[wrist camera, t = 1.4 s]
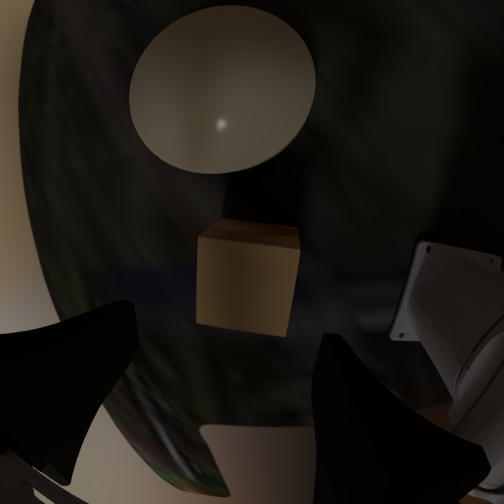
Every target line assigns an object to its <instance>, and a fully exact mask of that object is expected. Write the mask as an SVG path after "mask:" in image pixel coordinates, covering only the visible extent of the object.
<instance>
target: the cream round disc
mask: <svg viewBox="0 0 504 504" xmlns="http://www.w3.org/2000/svg"><path fill="white" fill-rule="evenodd" d="M314 92H315V69H314V64H313V60H312V57H311V55H310V52H309V50H308V48H307V46H306V44H305V43H304V41H303V40H302V39H301V37H300V36H299V35H298V33H297V32H296V31H295V30H294V29H293V28H292V27H291V26H289V25H288V24H287V23H285V22H284V21H283V20H281V19H280V18H278V17H276V16H274V15H272V14H270V13H268V12H265V11H262V10H260V9H256V8H252V7H246V6H237V5H225V6H216V7H211V8H206V9H202V10H199V11H196V12H193V13H191V14H188V15H186V16H184V17H182V18H180V19H179V20H177V21H175V22H174V23H172V24H171V25H169V26H168V27H167V28H165V29H164V30H163V31H162V32H161V33H160V34H158V35H157V36H156V37H155V38H154V39H153V41H152V42H151V43H150V44H149V45H148V47H147V48H146V49H145V51H144V53H143V54H142V56H141V57H140V59H139V61H138V63H137V65H136V68H135V71H134V73H133V76H132V81H131V85H130V95H129V101H130V111H131V116H132V120H133V123H134V126H135V128H136V130H137V132H138V134H139V136H140V137H141V139H142V140H143V142H144V143H145V145H146V146H147V147H148V148H149V149H150V150H151V151H152V152H153V153H154V154H156V155H157V156H158V157H159V158H161V159H162V160H164V161H166V162H167V163H169V164H171V165H173V166H175V167H178V168H180V169H184V170H187V171H191V172H197V173H205V174H206V173H212V174H218V173H227V172H235V171H242V170H246V169H250V168H253V167H255V166H258V165H261V164H263V163H265V162H267V161H269V160H270V159H272V158H274V157H275V156H276V155H278V154H279V153H281V152H282V151H283V150H284V149H285V148H286V147H288V146H289V145H290V143H291V142H292V141H293V140H294V139H295V138H296V136H297V135H298V133H299V132H300V130H301V129H302V127H303V125H304V123H305V121H306V119H307V116H308V114H309V111H310V108H311V105H312V102H313V98H314Z"/></svg>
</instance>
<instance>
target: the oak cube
mask: <svg viewBox="0 0 504 504" xmlns="http://www.w3.org/2000/svg"><path fill="white" fill-rule="evenodd" d="M300 250H301V249H300V242H299V235H298V228H297V227H291V226H283V225H275V224H267V223H259V222H251V221H242V220H233V219H224V218H221V219H220V220H218V221H217V222H216V223H215V224H213V225H212V226H211V227H210V228H208V229H207V230H206V231H205V232H203V233H202V234H201V235H200V236H198V254H197V323H200V324H205V325H211V326H216V327H222V328H228V329H234V330H240V331H247V332H254V333H261V334H268V335H275V336H283V337H286V331H287V326H288V321H289V316H290V310H291V305H292V299H293V293H294V287H295V281H296V275H297V269H298V263H299V257H300Z"/></svg>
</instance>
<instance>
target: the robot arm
mask: <svg viewBox="0 0 504 504" xmlns="http://www.w3.org/2000/svg"><path fill="white" fill-rule="evenodd" d="M428 246H430V249H429V251H427V252H426V248H427V247H428ZM490 259H491V261H490ZM501 263H502V259H501V257H500V256H498V255H493V254H489V253H484V252H479V251H475V250H470V249H465V248H460V247H455V246H450V245H445V244H440V243H435V242H429V241H424V240H421V241H419V242H418V243H417V245H416V248H415V252H414V256H413V260H412V264H411V267H410V271H409V275H408V278H407V282H406V285H405V289H404V292H403V295H402V298H401V301H400V304H399V307H398V310H397V313H396V316H395V319H394V322H393V325H392V327H391V330H390V333H389V336H390V338H391V339H392V340H402V341H421V343H422V345H423V346H424V348H425V350H426V351H427V353H428V355H429V356H430V358H431V360H432V361H433V363H434V365H435V366H436V368H437V370H438V372H439V373H440V375H441V377H442V379H443V381H444V382H445V384H446V386H447V388H448V390H449V392H450V394H451V395H452V397H453V399H454V404H453V406H452V408H451V409H450V411H449V415H450V417H451V419H452V421H453V424H454V427H453V428H452V430H451V431H450V433H449V432H447V431H445V430H443V429H442V428H440V427H438V426H436V425H434V424H433V423H431V422H429V421H428V420H426V419H425V418H424V417H422V416H421V415H419V414H418V413H416V412H415V411H413V410H412V409H411V408H409V407H408V406H407V405H405V404H404V403H403V402H402V401H401V400H400V399H398V398H397V397H396V396H395V395H394V394H393V393H391V392H390V391H389V390H388V389H387V388H386V387H385V386H384V385H383V384H382V383H381V382H380V381H379V380H378V379H377V378H376V377H375V376H374V374H373V373H372V372H371V371H370V370H369V369H368V368H367V367H366V365H365V364H364V363H363V362H362V361H361V360H360V358H359V357H358V356H357V355H356V353H355V352H354V351H353V350H352V349H351V347H350V346H349V345H348V343H347V342H346V341H345V340H344V339H343V337H342V336H341V335H340V334H330V333H323V337H322V341H321V345H320V348H319V352H318V355H317V359H316V362H315V366H314V369H313V372H312V390H311V399H312V409H313V419H314V428H315V439H316V457H317V458H316V476H315V488H314V499H313V504H459V500H460V499H461V498H463V497H464V496H465V495H467V494H469V495H471V496H474V497H477V498H482V499H486V500H488V501H490V502H488V503H487V504H492V503H494V504H504V272H502V271H501V270H500V266H501ZM400 333H402V335H399V334H400ZM139 345H140V343H139V337H138V330H137V323H136V315H135V307H134V303H132V302H128V301H123V300H120V301H116V302H113V303H110V304H107V305H104V306H102V307H99V308H97V309H94V310H91V311H89V312H86V313H84V314H81V315H79V316H76V317H73V318H70V319H67V320H64V321H61V322H59V323H56V324H52V325H49V326H46V327H42V328H37V329H34V330H29V331H22V332H15V333H8V334H0V504H45V503H43V502H42V501H41V500H39V499H38V498H37V497H36V496H35V495H34V490H33V488H34V489H35V490H37V491H38V492H40V493H41V494H42V495H44V496H45V497H46V498H48V499H49V500H51V501H52V502H53V503H55V504H88V503H87V502H85V501H83V500H81V499H79V498H78V497H76V496H74V495H72V494H71V493H69V492H68V491H66V490H64V489H63V488H61V487H60V486H58V485H57V484H55V483H54V482H52V481H51V480H49V479H48V478H46V477H45V476H44V475H42V474H41V473H39V472H38V471H40V472H42V473H44V474H45V475H47V476H48V477H49V478H51V479H52V480H54V481H55V482H57V483H58V484H60V485H62V486H67V485H70V483H71V478H72V475H73V471H74V467H75V463H76V460H77V457H78V455H79V452H80V449H81V446H82V444H83V441H84V439H85V436H86V434H87V432H88V430H89V427H90V425H91V423H92V421H93V419H94V417H95V415H96V413H97V411H98V409H99V407H100V406H101V404H102V403H103V401H104V400H105V398H106V397H107V395H108V394H109V393H110V391H111V390H112V388H113V387H114V386H115V384H116V383H117V381H118V380H119V379H120V377H121V376H122V374H123V373H124V372H125V370H126V369H127V367H128V366H129V364H130V363H131V361H132V359H133V357H134V355H135V353H136V351H137V349H138V347H139ZM33 467H34V468H36V469H37V470H38V471H37V470H35V469H34V468H33ZM31 486H32V487H33V488H32V487H31ZM491 502H492V503H491Z"/></svg>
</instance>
